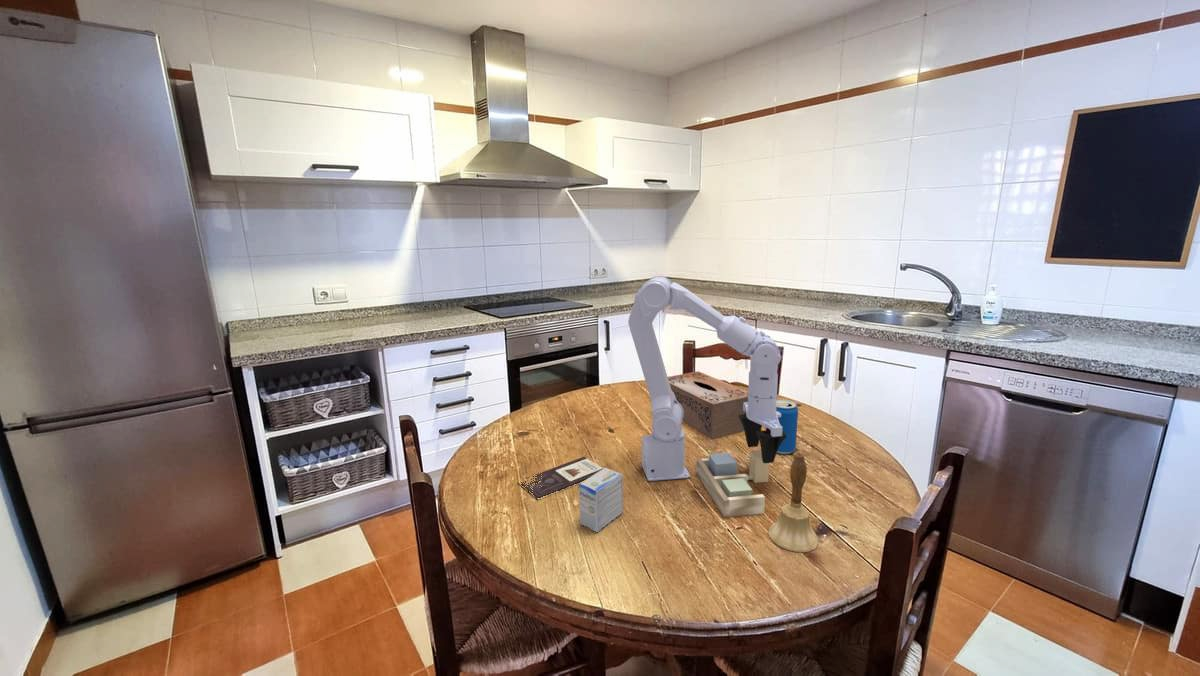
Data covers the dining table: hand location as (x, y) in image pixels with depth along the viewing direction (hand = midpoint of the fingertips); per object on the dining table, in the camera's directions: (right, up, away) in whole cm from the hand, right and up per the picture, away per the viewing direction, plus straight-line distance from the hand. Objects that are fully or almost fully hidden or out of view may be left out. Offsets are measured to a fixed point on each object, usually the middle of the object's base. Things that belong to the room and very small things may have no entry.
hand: (760, 454), depth 102 cm
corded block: (-4, -6, +1) cm, 7 cm away
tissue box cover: (-4, +1, +36) cm, 36 cm away
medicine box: (-34, -10, -11) cm, 37 cm away
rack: (-8, -7, -3) cm, 11 cm away
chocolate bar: (-43, -7, +5) cm, 44 cm away
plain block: (-7, -8, -7) cm, 13 cm away
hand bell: (0, -10, -18) cm, 21 cm away
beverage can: (+10, -3, +15) cm, 18 cm away
